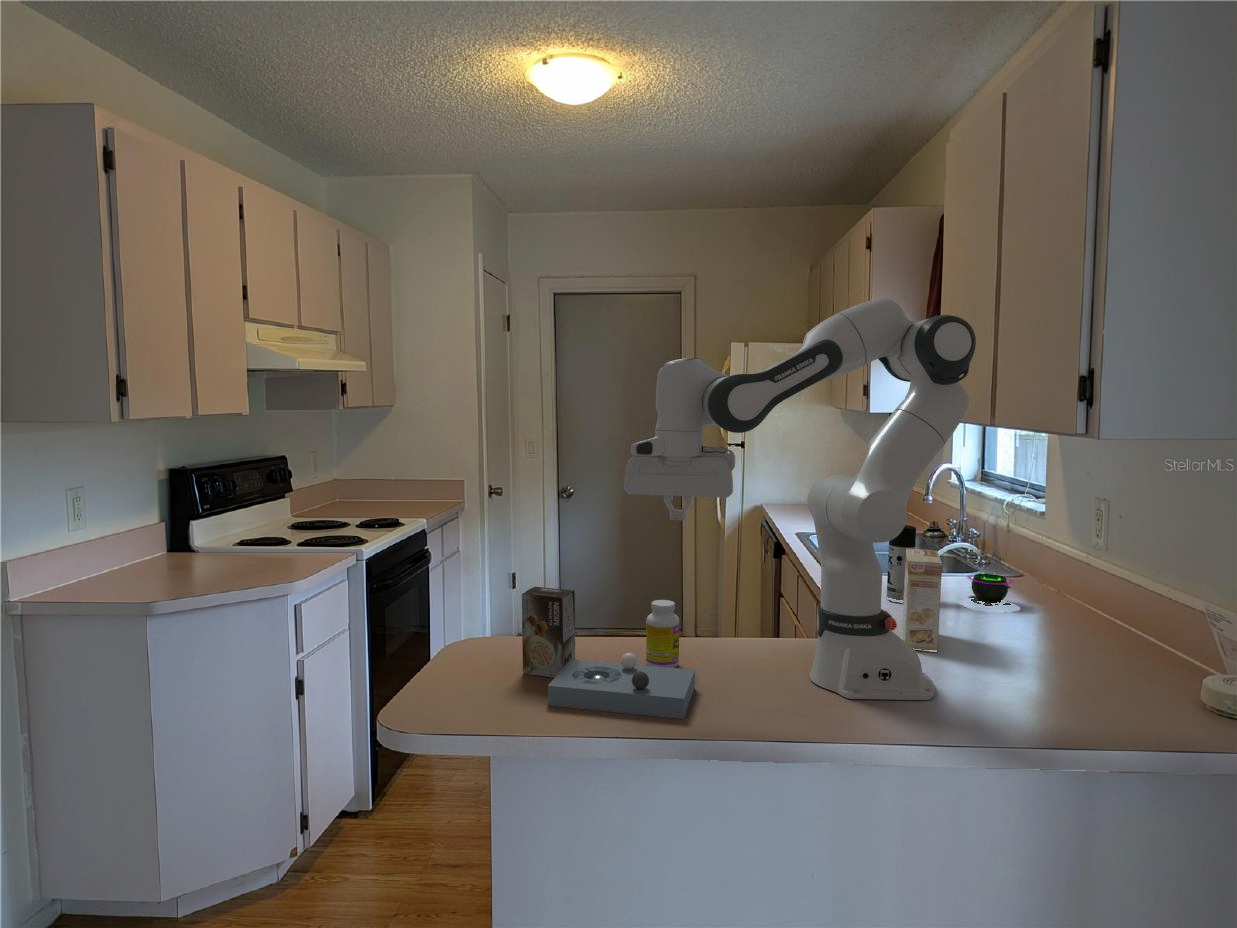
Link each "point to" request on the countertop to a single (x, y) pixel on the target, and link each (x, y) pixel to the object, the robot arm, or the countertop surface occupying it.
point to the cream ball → (628, 661)
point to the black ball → (640, 680)
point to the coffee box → (547, 630)
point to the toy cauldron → (989, 588)
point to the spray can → (899, 561)
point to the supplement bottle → (662, 635)
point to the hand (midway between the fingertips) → (677, 519)
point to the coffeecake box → (922, 599)
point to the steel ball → (597, 677)
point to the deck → (622, 689)
